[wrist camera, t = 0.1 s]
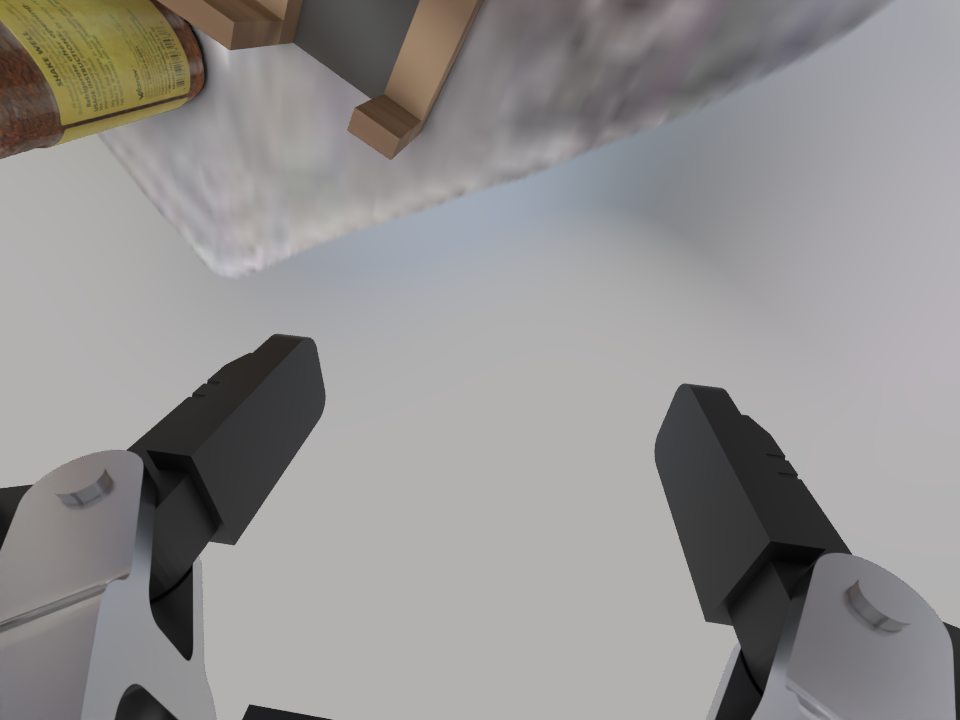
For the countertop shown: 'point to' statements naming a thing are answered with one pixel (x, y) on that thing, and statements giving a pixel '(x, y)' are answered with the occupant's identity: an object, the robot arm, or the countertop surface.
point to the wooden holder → (355, 50)
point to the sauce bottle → (89, 68)
